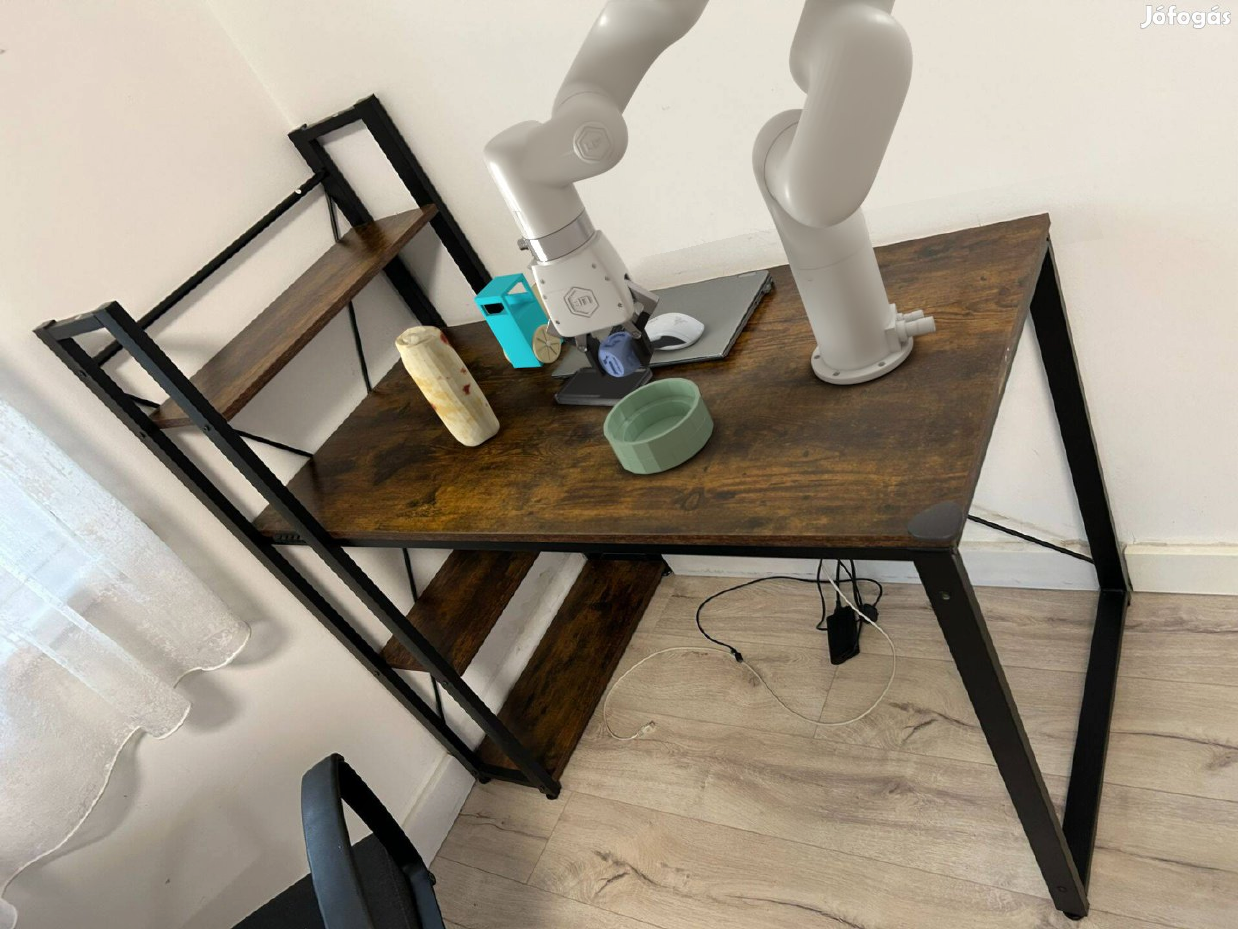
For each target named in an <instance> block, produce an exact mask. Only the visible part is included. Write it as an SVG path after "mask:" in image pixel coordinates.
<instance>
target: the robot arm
mask: <svg viewBox="0 0 1238 929" xmlns="http://www.w3.org/2000/svg"><path fill="white" fill-rule="evenodd" d="M709 2H710V0H607V1H606V2H605V4H604V6H603V8H602V9H601V11H600V13H599V15H598V16H597V17H596V19H595V21H594V23H593V24H592V26H591V28H590V30H589V31H588V33H587V35H586V37H585V39H584V40H583V42H582V44H581V46H580V48H579V50H578V52H577V54H576V55H575V58H574V59H573V61H572V63H571V65H570V67H569V69H568V71H567V73H566V74H565V77H564V79H563V81H562V83H561V84H560V87H559V89H558V91H557V93H556V95H555V98H554V100H553V102H552V106H551V109H550V110H551V111H550V119H548V120H546V121H545V122H543V123H542V122H540V121H538V120H533V119H529V120H525V121H521V122H518V123H515V124H514V125H511V126H510V127H508V128H505V129H503V130H502V131H499V133H497V134H495V135H494V136H493V137H492V138H491V139H489V141H488V142H487V143H486V144H485V145H484V147H483V151H482V160H483V163H484V166H485V167H486V169H487V171H488V173H489V175H490V177H491V179H492V181H493V182H494V184H495V186H496V188H497V190H498V192H499V194H500V196H501V198H502V199H503V201H504V203H505V205H506V207H507V209H508V210H509V212H510V214H511V216H512V219H513V220H514V221H515V223H516V225H517V227H518V230H519V231H520V234H521V235H522V238H519V239H517V243H516V244H517V247H518V249H519V250H520V251H522V252H523V251H529V253H530V255H531V256H532V257H533V258H532V260H531V261H530V263H531V268H532V271H533V274H532V276H533V275H534V276H533V278H534V281H535V283H536V284H537V287H538V290H539V293H540V295H541V298H542V300H543V303H544V305H545V307H546V310H547V312H548V314H549V316H550V319H549V322H548V326H547V330H546V332H547V334H548V335H551V336H553V337H556V338H559V339H563V343H566V344H569V345H570V346H573V347H575V348H576V349H577V351H578V352H579V353H582V354H583V353H584V355H585V357H586V359H587V361H588V362H589V364H590V367H592V368H593V369H595V370H596V372H597V374H598V376H599V377H600V378H601V377H604V376H605V375H606V373H607V371H606V370H605V369H604V368H603V367H602V366H601V364H600V362H599V358H598V350H599V347H600V344H601V343H602V342H601V341H600V339H599V338H598V337H593V332H597V331H601V330H605V329H608V328H613V326H616V325H620V324H621V325H622V326H623V328H625V332H627V333H629V334H630V335H631V336H632V339H631V341H630V343H631V345H632V347H633V349H634V351H635V353H636V355H637V357H638V359H639V361H640V363H641V365H640V366H641V367H650V364H651V361H652V358H653V355H654V353H655V349H654V348H653V345H652V343H651V341H650V339H649V337H648V335H647V332H646V330H645V326H646V324H647V322H648V321H649V320H650V319H651V317H652V315H653V314H654V312H655V310H656V308H658V304H659V302H660V297H659V295H657V294H655V293H654V292H651V291H650V290H648V289H646V288H645V287H643V286H640V285H639V284H638V283H635V280H634V279H633V277H632V274H631V272H630V271H629V268H628V267H627V266H626V263H625V262H624V260H623V259H622V257H621V256H620V254H619V252H618V251H617V249H616V248H615V246H614V245H613V244H612V242H611V241H610V240H609V238H608V237H607V235H606V234H605V233H604V232H603V231H602V230H601V229H596V228H595V225H594V224H593V222H592V219H591V217H590V215H589V213H588V211H587V209H586V207H585V205H584V203H583V200H582V198H581V197H580V194H579V192H578V190H577V188H576V185H575V183H578V182H580V181H583V180H587V179H591V178H594V177H596V176H600V175H603V174H605V173H606V172H608V171H610V170H612V169H613V168H615V167H616V166H617V165H618V164H619V163H620V162H621V160H623V158H624V156H625V154H626V152H627V148H628V146H629V130H628V125H627V123H626V120H625V118H624V117H623V114H624V112H625V110H626V108H627V106H628V105H629V103H630V101H631V99H632V97H633V95H634V94H635V92H636V90H637V89H638V87H639V86H640V83H641V82H642V80H643V78H644V77H645V75H646V74H647V72H648V71H649V69H650V68H651V66H653V64H654V63H655V61H656V60H657V59H658V58H659V57H660V56H661V54H663V53H664V51H666V50H667V49H668V48H669V47H671V46H672V45H674V44H675V43H676V42H678V41H680V40H681V39H682V38H683V37H685V36H686V35H687V34H688V33H689V32H690V30H692V29H693V27H694V26H695V25H696V24H697V22H698V21H699V20H700V18H701V16H702V14H703V13H704V10H705V9H706V7H707V6H708V4H709ZM895 2H896V0H805V1H804V4H803V8H802V11H801V14H800V17H799V20H798V24H797V27H796V30H795V33H794V36H793V39H792V42H791V46H790V49H789V56H788V57H789V59H788V65H789V71H790V75H791V77H792V79H793V81H794V82H795V84H796V85H797V87H798V88H799V89H800V90H801V91H802V92H803V93H805V94H806V97H805V100H804V104H803V107H802V108H791V109H787V110H783V111H780V112H779V113H777V114H775V115H773V116H772V117H771V118H769V119H768V120H767V121H766V122H765V123H764V124H763V126H762V127H761V128H760V130H759V131H758V133H757V135H756V137H755V140H754V143H753V146H752V153H751V164H752V170H753V175H754V179H755V181H756V184H757V186H758V189H759V191H760V194H761V196H762V199H763V201H764V203H765V205H766V208H767V209H768V211H769V215H770V216H771V219H772V221H773V223H774V226H775V230H776V231H777V233H778V236H779V239H780V241H781V244H782V248H783V251H784V253H785V255H786V258H787V261H788V262H787V263H788V265H789V268H790V271H791V273H792V276H793V279H794V282H795V284H796V287H797V290H798V293H799V296H800V299H801V301H802V304H803V307H804V310H805V312H806V315H807V319H808V322H809V324H810V327H811V330H812V332H813V335H814V338H815V341H816V344H817V346H816V347H815V349H814V350H813V352H812V355H811V358H810V359H811V360H810V363H811V364H810V365H811V367H812V370H813V372H814V374H815V376H817V377H818V379H820V380H822V381H824V382H825V383H830V384H834V385H853V384H861V383H865V382H868V381H871V380H874V379H877V378H879V377H881V376H884V375H886V374H887V373H890V372H891V371H893V370H894V369H896V368H897V367H899V366H900V365H901V364H902V363H903V362H904V361H905V360H906V359H907V357H908V356H909V355H910V353H911V351H912V350H913V346H914V337H915V336H922V335H927V334H931V333H935V332H937V330H936V323H935V319H934V316H933V315H931V316H926V317H925V314H924V310H923V309H919V310H915V311H912V312H908V313H905V314H904V313H903V312H898V309H897V305H896V303H895V302H894V303H890V302H889V298H888V295H887V291H886V288H885V285H884V282H883V278H882V275H881V271H880V269H879V264H878V261H877V257H876V255H875V251H874V247H873V244H872V240H871V237H870V232H869V228H868V225H867V221H866V218H865V214H864V212H863V209H862V205H863V203H864V202H865V200H866V199H867V197H868V195H869V193H870V191H871V189H872V187H873V185H874V183H875V180H876V177H877V175H878V173H879V169H880V167H881V164H882V162H883V160H884V157H885V154H886V152H887V149H888V146H889V144H890V141H891V138H892V136H893V133H894V131H895V128H896V125H897V122H898V120H899V117H900V114H901V112H902V109H903V107H904V104H905V100H906V98H907V94H908V92H909V88H910V86H911V85H910V84H911V79H912V74H913V64H914V62H913V60H914V57H913V47H912V42H911V40H910V37H909V35H908V33H907V31H906V29H905V27H904V25H902V23H900V21H898V20H897V19H896V17H894V16H893V15H892V12H893V9H894V5H895ZM637 303H640V304H641V305H642V308H641V310H640V312H639V311H638V310H637V309H636V308H635V304H637Z"/></svg>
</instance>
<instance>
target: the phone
mask: <svg viewBox="0 0 1238 929" xmlns="http://www.w3.org/2000/svg"><path fill="white" fill-rule="evenodd" d="M653 376H654V374H653V372H652V370H651V368H650V366H648V367H642V366H640V367H639V368H638V369H637V370H636V371H635V372H633V373H631V374H629V375H627V376H623V377H616V376H613V375H611V374H609V373H608V372H607V373H606V375H605V376H604V377H601V378H600V377H599V376H598V374H597V372H596V370H595V369H593V368H592V366H583V367H580V368H578V369H576V371H575V372H574V373H573V374H572V375H571V376H570V377H569V378H568V379H567V380H566V381H565V383H564V384H563V385H562V386H561V387H560V388H559V389H558V391H557V392H555V394H554V399H555V401H556V402H557V404H560V405H584V406H605V407H606V406H609V407H614V406H615V405H616V404H617V403H618V402H619V401H621V400H622V399H623V398H624V397H625V396H627V395H628V394H630V393H632V392H633V391H635V390H637V389H638V388H640V387H642V386H645V385H647V384H649V382H650V380H651V379H652V378H653Z"/></svg>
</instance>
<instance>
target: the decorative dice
mask: <svg viewBox="0 0 1238 929" xmlns="http://www.w3.org/2000/svg"><path fill="white" fill-rule="evenodd" d="M631 339H632V336H631V335H630V334H629V333H628V332H627V331H623V332H617V333H614V334H612V335H610V336H608V335H607V337H605V338H604V339H603V340H602V341H601V342H600V343H601V344H600V347H599V350H598V358H599V362H600V364H601V366H602V367H603V368H604V369H605V370H606V371H607V372H608V373H609V374H611V375H613V376H616V377H623V376H627V375H629V374H631V373H633V372H635V371H636V370H637V369H638V368H639V367H641V366H642V365H641V363H640V361H639V359H638V357H637V355H636V353H635V351H634V349H633V347H632V345H631V343H630V341H631Z"/></svg>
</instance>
